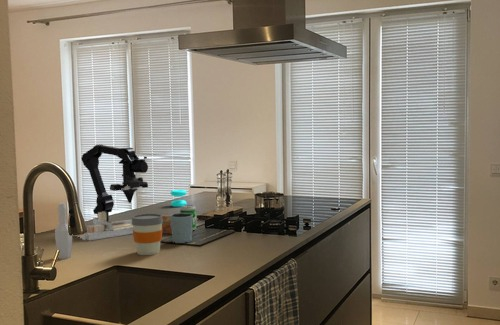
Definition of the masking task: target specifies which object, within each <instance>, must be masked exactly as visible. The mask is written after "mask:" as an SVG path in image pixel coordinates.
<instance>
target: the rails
mask: <svg viewBox="0 0 500 325" xmlns="http://www.w3.org/2000/svg"><path fill="white" fill-rule="evenodd" d="M110 222H111V223H113V225H119V224H126V223H128V224H131V225H132V218H131V219H125V220H118V221H117V220H115V221H110ZM86 226H87V228H88V226H94V224H90V225H86ZM128 235H133V227H127V228H121V229H114V230H107V231H101V232H94V233H88V234H87V240H86V241H88V240H89V241H95V240H102V239H109V238H115V237H121V236H128ZM89 241H88V242H89Z"/></svg>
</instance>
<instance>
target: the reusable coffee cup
mask: <svg viewBox="0 0 500 325" xmlns="http://www.w3.org/2000/svg"><path fill="white" fill-rule="evenodd" d="M162 216H163V215H162V214H160V213H141V214H136V215H135V214H134V215H133V216H132V217H131V220H132V225H133V234H132V235H133V240H134V242H135V245H136V253H137V255H140V256H151V255H157V254H159V253H160V252H161V241H162V237H163V233H162V223H163V220H162Z"/></svg>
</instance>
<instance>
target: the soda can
mask: <svg viewBox="0 0 500 325" xmlns="http://www.w3.org/2000/svg"><path fill="white" fill-rule="evenodd" d="M179 208H180V209H179V210H180V212H179V213H191V214H193V220H192V232H194V231H195V230H196V229H197V215H196V214H197V208H196V207H195V205H192V204H188V205H184V206H182V207H179ZM193 230H194V231H193Z"/></svg>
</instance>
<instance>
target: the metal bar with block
mask: <svg viewBox="0 0 500 325" xmlns="http://www.w3.org/2000/svg"><path fill="white" fill-rule="evenodd" d="M106 220H107V217H106V212H98V216H97V217H93V218H92V225H98V224H101V225H104V228H105V229H108V230H113V223H111V222H112V221H109V222H108V221H106Z"/></svg>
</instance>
